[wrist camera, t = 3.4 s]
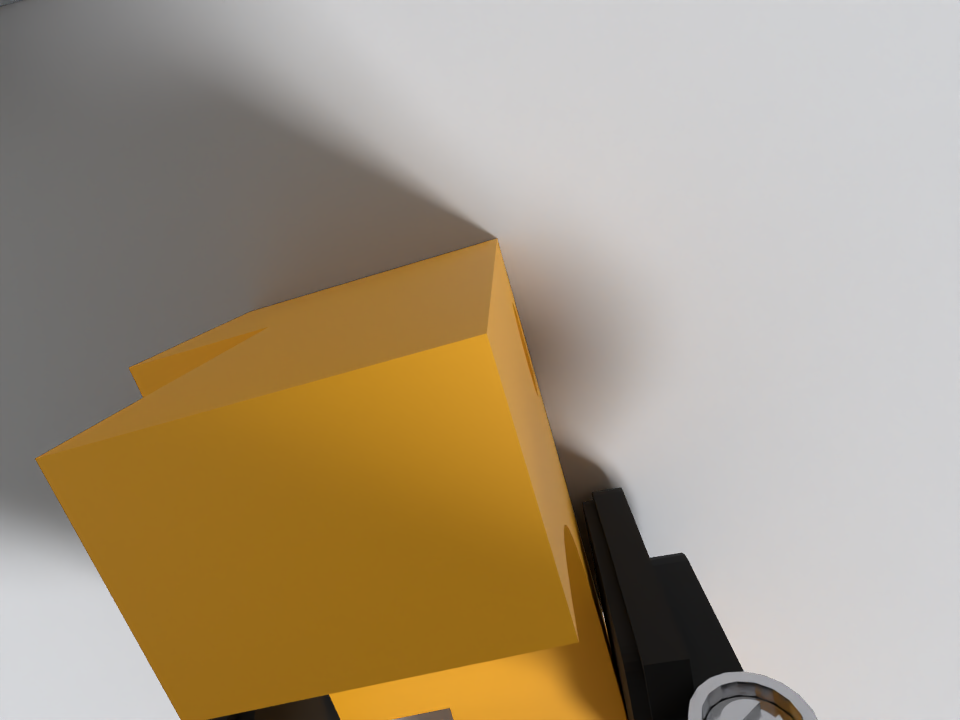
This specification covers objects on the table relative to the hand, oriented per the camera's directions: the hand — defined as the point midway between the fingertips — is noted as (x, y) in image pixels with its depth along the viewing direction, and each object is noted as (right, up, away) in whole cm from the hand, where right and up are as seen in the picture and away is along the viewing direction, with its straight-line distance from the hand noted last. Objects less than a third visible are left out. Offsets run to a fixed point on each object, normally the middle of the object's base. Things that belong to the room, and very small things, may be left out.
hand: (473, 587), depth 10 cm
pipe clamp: (0, 0, +1) cm, 1 cm away
